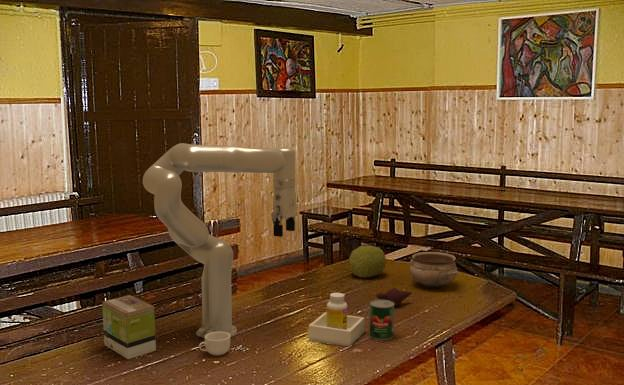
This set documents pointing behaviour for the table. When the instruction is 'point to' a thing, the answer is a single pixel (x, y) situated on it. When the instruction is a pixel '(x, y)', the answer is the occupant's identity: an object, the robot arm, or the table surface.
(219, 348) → the teacup
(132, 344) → the tea box
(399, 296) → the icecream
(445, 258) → the cooking pot
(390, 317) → the canned tomato
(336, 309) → the supplement bottle
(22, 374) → the table surface
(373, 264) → the fruit
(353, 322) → the tub
